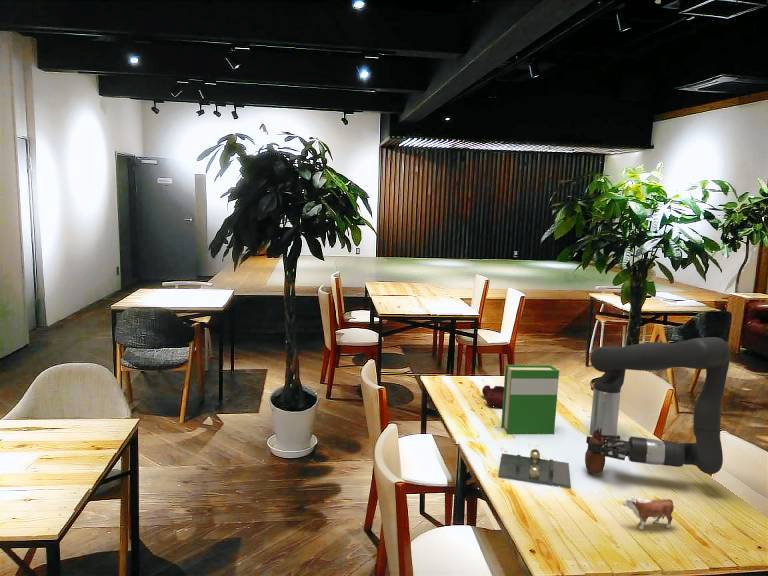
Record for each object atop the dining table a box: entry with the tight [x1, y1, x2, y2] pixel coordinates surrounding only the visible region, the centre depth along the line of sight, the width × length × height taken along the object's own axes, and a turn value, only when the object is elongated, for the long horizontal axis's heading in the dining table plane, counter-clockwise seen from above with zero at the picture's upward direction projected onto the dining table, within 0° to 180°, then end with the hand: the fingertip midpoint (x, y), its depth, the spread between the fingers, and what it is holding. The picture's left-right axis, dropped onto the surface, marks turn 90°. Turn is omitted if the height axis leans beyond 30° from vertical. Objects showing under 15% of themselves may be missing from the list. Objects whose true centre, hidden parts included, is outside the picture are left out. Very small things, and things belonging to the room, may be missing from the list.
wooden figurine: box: [584, 428, 606, 475], centre depth 178 cm, size 7×6×15 cm
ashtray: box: [481, 385, 504, 408], centre depth 244 cm, size 18×16×5 cm
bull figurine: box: [622, 495, 675, 531], centre depth 149 cm, size 4×13×8 cm, turn 95°
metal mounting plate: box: [497, 448, 572, 489], centre depth 179 cm, size 16×21×4 cm
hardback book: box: [500, 364, 560, 435], centre depth 212 cm, size 18×7×24 cm, turn 96°
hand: (587, 443), depth 179 cm, fingers closed on wooden figurine, 5 cm apart
